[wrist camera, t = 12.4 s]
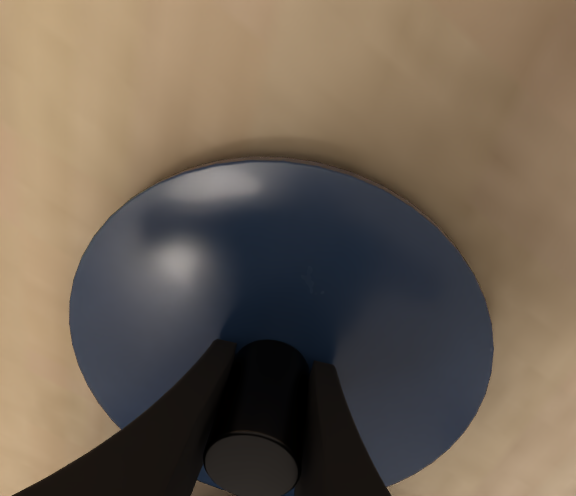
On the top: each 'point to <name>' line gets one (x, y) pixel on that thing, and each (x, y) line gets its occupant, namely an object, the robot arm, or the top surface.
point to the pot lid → (284, 314)
